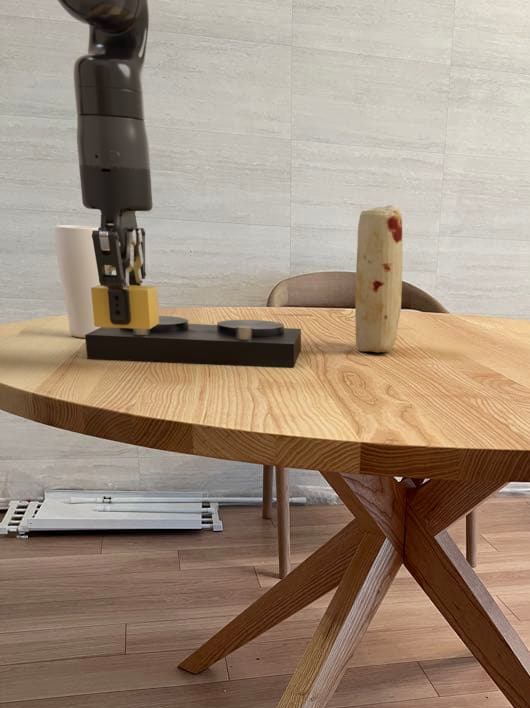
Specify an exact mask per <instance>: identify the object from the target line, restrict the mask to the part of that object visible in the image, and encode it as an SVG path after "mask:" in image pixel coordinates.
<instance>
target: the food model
mask: <svg viewBox="0 0 530 708" xmlns="http://www.w3.org/2000/svg"><path fill="white" fill-rule="evenodd" d="M403 241H404V240H403V217H402V213H401V211H400V210H399V209H398V208H397V207H396V206H394V205H390V204H388V205H386V206H377V207H373V208H371V209H367V210H362V211H361V212H360V215H359V218H358V223H357V246H356V247H357V248H356V250H357V251H356V265H355V267H356V269H355V286H354V289H355V293H354V294H355V295H354V296H355V300H354V301H355V309H354V310H355V312H354V313H355V315H354V317H355V319H354V320H355V345H356V347H357V349H358V351H360V352H374V353H388V352H390V351H391V350H393V348H394V346H395V343H396V342H397V341H396V340H397V338H398V337H397V336H398V329H399V322H400V316H401V312H402V291H403V253H404V252H403V251H404V248H403V245H404V242H403Z"/></svg>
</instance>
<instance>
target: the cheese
mask: <svg viewBox="0 0 530 708" xmlns="http://www.w3.org/2000/svg"><path fill="white" fill-rule="evenodd" d="M108 291H109V290H106V289H105V287H104V286H101V285H98V286H95V287H92V288H91V294H92V305H93V315H94V326H95V327H111V328H137V329H151V328H153V327H154V326H156V325H158V324H159V316H160V313H159V298H158V297H159V296H158V286H157V285H142V286H140V285H129V290H128V291H129V299H130V312H131V322H130V323H129V324H127V325H116V324H112V323H111V321H110V311H109V299H108Z"/></svg>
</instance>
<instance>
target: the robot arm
mask: <svg viewBox="0 0 530 708" xmlns="http://www.w3.org/2000/svg"><path fill="white" fill-rule="evenodd" d="M57 2H58V3H59V4H60V6H61V7H62V8H63V10H64V11H65V12H66V13H67V14H68V15H70V16H71V18H73V19H74V20H76V21H78V22H80V23H81V24H85V25H87V26H88V47H87V54H84V55H81V56H79V57H78V58H77V59H76V60H75V62H74V65H73V88H74V99H75V110H76V122H77V123H76V146H77V147H76V149H77V156H78V158H77V159H78V168H79V180H80V190H81V200H82V205H83V207H84V208H86V209H89V210H99V211H100V226H98V227H99V228H98V231H94V230H93V232H92V239H93V245H94V251H95V257H96V263H97V269H98V275H99V282H100V285H101V286H104V287H105V289H106V290H109V291H108V299H109V311H110V321H111V323H112V324H116V325H127V324H129V323H130V322H131V312H130V299H129V291H128V290H129V285H140V286H143V282H144V280H145V279H146V276H147V273H146V231H145V228H144V227H138V221H137V216H136V212H150V211H151V210H152V209H153V192H152V191H153V190H152V174H151V162H150V161H151V159H150V148H149V147H150V146H149V140H148V134H147V129H146V122H145V119H146V118H145V105H144V103H145V102H144V89H143V81H142V76H143V70H144V66H145V60H146V53H147V43H148V36H149V29H150V28H149V27H150V9H149V1H148V0H57ZM113 271H115V274H112V272H113Z"/></svg>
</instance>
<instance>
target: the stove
mask: <svg viewBox="0 0 530 708" xmlns="http://www.w3.org/2000/svg"><path fill="white" fill-rule="evenodd" d="M84 339H85V348H86V349H85V350H86V359H87V360H105V361H106V360H108V361H128V362H129V361H131V362H151V363H152V362H153V363H154V362H155V363H177V364H202V365H203V364H204V365H221V366H222V365H224V366H244V367H245V366H249V367H271V368H272V367H273V368H292V369H293V368H295V367H296V364H297V360H298V358H299V356H300V353H301V351H302V329H301V328H293V327H291V328H289V327H285V324H283V323H281V322H277V321H271V320H262V319H228V320H227V319H226V320H221V321H217V323H216V324H206V323H205V324H204V323H189V319H187V318H184V317H181V316H173V315H172V316H171V315H159V324H158V325H156V326H154V327H153V328H151V329H137V328H111V327H101V328H99V329H96V330H94V331H92V332H90V333H88V334H86V335H85V338H84Z"/></svg>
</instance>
